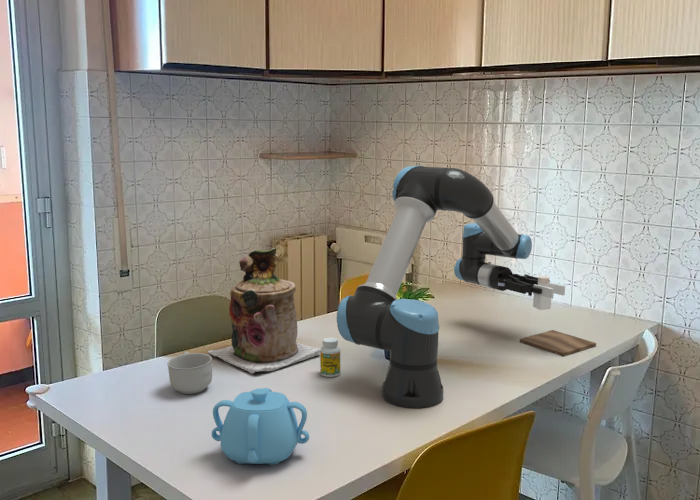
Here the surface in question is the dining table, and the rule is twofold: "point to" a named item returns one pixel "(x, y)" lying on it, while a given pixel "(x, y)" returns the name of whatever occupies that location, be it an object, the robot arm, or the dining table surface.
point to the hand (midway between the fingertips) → (558, 292)
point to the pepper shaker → (542, 301)
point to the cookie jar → (263, 319)
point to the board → (558, 342)
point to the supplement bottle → (330, 358)
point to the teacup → (190, 372)
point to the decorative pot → (259, 427)
